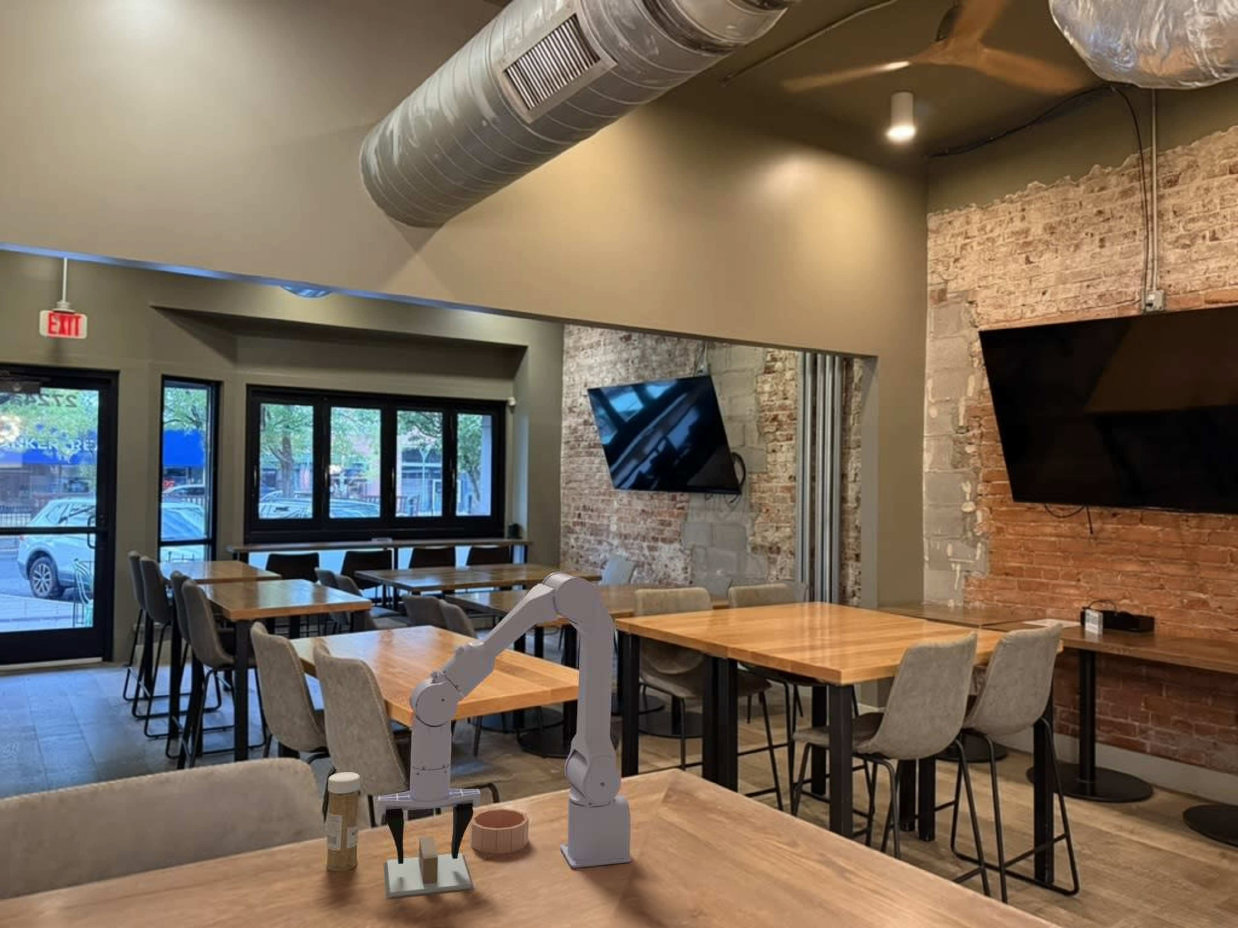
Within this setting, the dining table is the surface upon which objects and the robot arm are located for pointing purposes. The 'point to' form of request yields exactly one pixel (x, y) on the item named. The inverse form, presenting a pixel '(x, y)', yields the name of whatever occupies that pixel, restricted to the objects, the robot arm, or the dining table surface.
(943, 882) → the dining table surface
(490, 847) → the bowl
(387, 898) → the mat
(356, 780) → the sprinkles bottle
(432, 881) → the lid
